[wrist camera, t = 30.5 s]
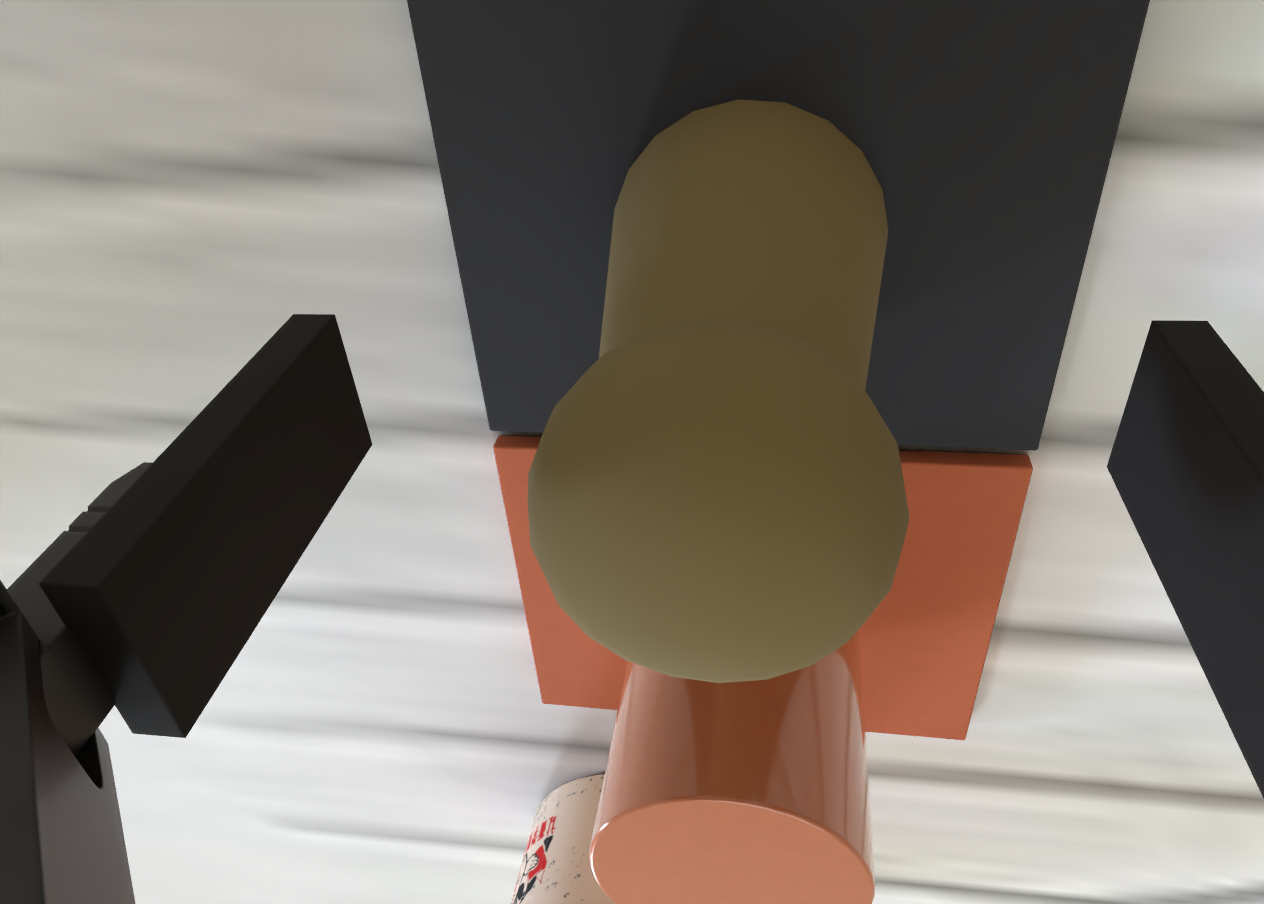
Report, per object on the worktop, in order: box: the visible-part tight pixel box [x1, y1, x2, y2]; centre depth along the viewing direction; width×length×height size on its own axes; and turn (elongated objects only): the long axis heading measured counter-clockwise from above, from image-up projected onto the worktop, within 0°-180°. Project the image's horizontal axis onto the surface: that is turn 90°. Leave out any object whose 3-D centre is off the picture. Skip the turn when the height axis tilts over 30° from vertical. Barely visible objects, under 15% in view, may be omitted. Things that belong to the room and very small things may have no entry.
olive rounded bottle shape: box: [528, 99, 910, 683], centre depth 15 cm, size 6×6×11 cm
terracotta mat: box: [493, 435, 1033, 740], centre depth 27 cm, size 14×11×1 cm
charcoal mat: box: [407, 0, 1150, 450], centre depth 20 cm, size 14×11×1 cm
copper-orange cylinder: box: [589, 630, 875, 904], centre depth 22 cm, size 6×6×9 cm
